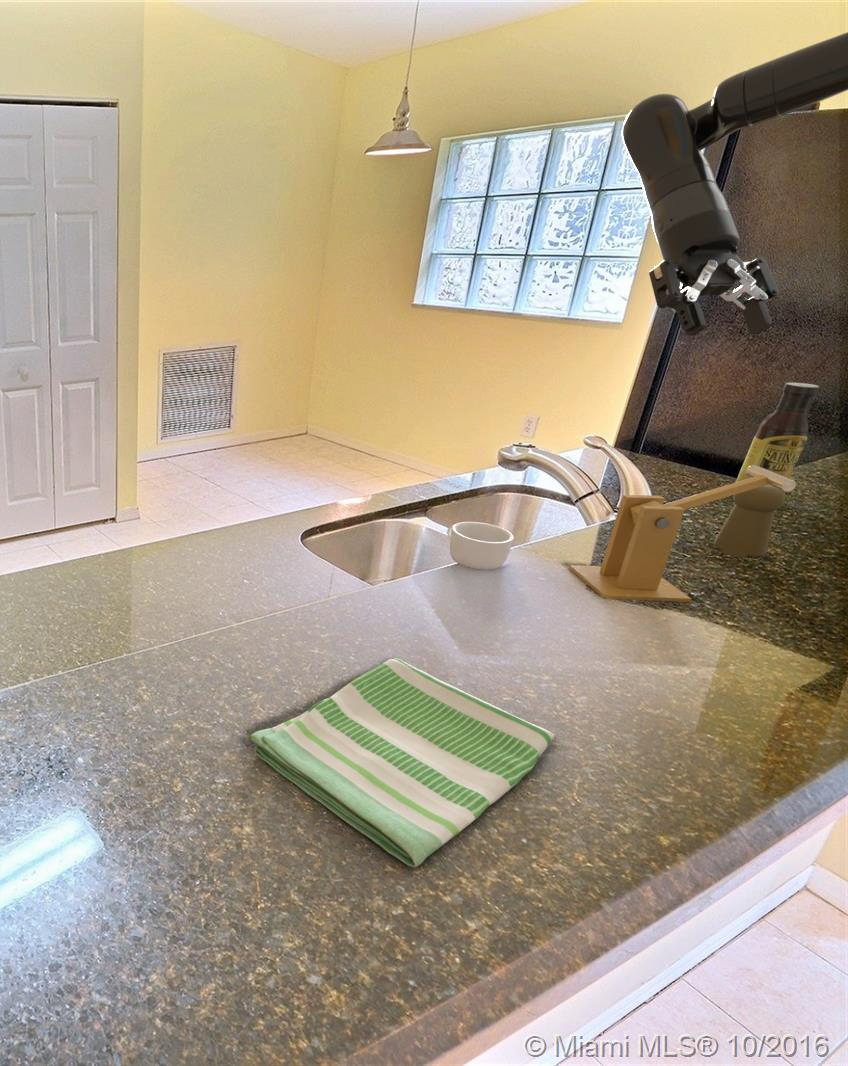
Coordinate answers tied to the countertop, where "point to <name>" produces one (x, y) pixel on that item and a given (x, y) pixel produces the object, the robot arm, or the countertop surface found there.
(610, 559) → the bracket
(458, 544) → the teacup
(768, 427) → the sauce bottle
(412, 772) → the dish towel
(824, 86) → the robot arm
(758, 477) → the tap lever
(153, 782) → the countertop surface
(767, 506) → the cork
